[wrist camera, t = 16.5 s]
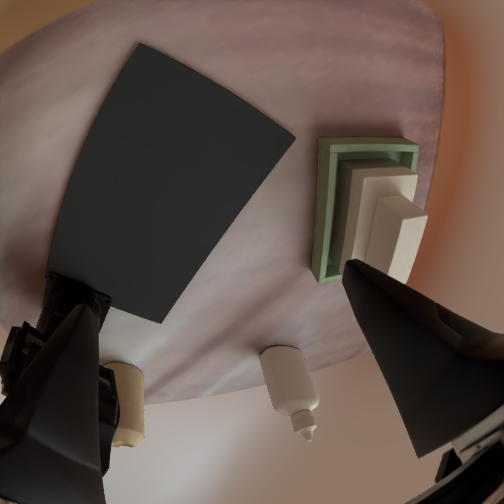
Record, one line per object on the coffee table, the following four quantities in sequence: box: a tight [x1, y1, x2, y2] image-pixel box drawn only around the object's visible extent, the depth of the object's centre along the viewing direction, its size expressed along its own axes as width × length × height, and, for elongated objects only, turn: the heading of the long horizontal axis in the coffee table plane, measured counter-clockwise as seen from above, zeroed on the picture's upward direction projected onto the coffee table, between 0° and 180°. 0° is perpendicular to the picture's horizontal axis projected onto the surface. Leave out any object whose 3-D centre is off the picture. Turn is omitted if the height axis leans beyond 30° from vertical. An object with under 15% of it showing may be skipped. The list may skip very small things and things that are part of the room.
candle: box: [104, 363, 145, 447], centre depth 26 cm, size 6×6×10 cm
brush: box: [330, 158, 428, 284], centre depth 19 cm, size 9×5×6 cm, turn 4°
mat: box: [45, 43, 296, 324], centre depth 18 cm, size 20×12×1 cm, turn 144°
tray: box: [311, 137, 419, 284], centre depth 21 cm, size 12×8×2 cm
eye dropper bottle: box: [259, 346, 319, 442], centre depth 28 cm, size 4×6×12 cm
